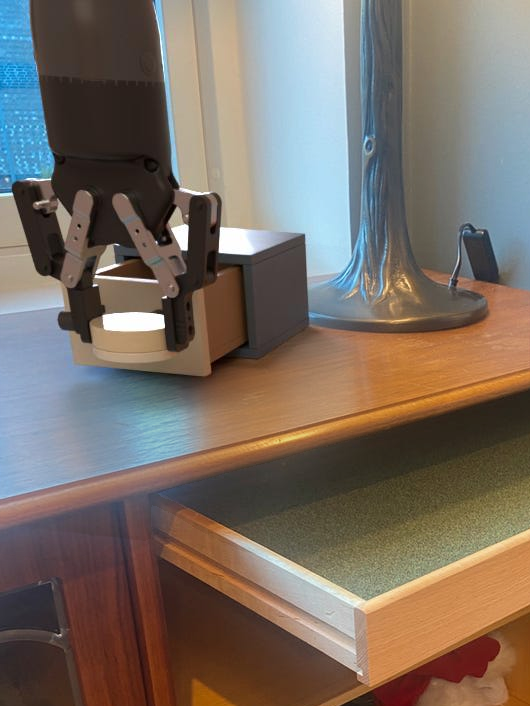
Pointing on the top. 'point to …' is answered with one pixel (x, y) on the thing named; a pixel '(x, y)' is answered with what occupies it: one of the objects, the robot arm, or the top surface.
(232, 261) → the cabinet
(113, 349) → the cream short cylinder
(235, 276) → the drawer
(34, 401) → the top surface
